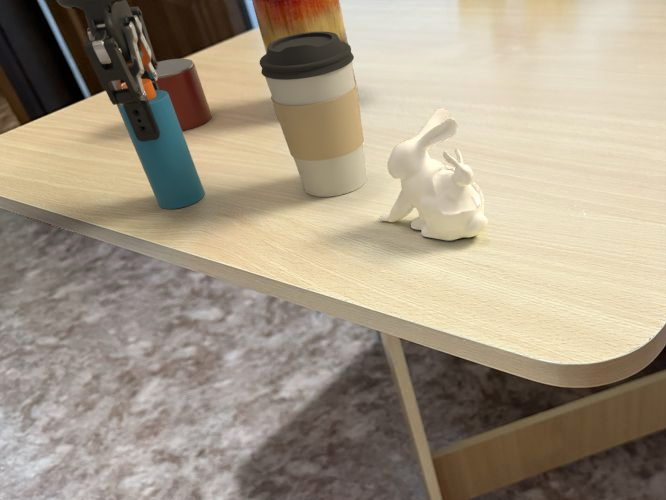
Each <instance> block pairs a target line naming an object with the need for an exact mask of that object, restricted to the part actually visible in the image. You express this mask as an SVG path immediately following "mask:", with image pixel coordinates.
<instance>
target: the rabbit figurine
mask: <svg viewBox="0 0 666 500" xmlns="http://www.w3.org/2000/svg"><path fill="white" fill-rule="evenodd" d="M449 115H450V114H449V111H448V110H447V108H444V107H439V108H437V109H435V110H434V111H433V112H432V113H431V115H430V116H429V118H428V119H427V120H426V122H425V123H424V124H423V126H422V127H421V128H420V129H419V131H418V133H417V134H416V135H415V136H413V137H412V138H410V139H407V140H403V141H401V142H399V143H397V145H395V146H394V148H393V149H392V150H391V153H390V155H389V157H388V160H387V164H386V165H387V172H388V173H389V175H390V176H391V177H392V178H393V179H397V180H400V183H401V189H400V192H399V194H398V196H397V197H396V199H395V202H394V204H393V205H392V207H391V209H390V212H389V213H383V214H382V215H379V217H378V218H377V220H378V221H379V222H389V223H395V222H397V221H400V220H403V219H404V218H406V217H407V216H409V214H411V213H412V212H413V210H414V208H415V209H416V210H417V212H418V217H416V218H415V217H414V219H412V221H411V223H410V228H412V229H413V230H418V231H421V235H422V236H423V237H424V238H425V237H426V238H432V239H437V240H442V241H455V240H458V239H459V240H460V239H462V238H472V237H473V238H474V237H477V236H478V235H480V234H483V232H485V230H486V229H487V227H488V223H489V222H488V221H489V220H488V217H487V216H485V215H484V213H485V195H484V193H483V191H482V190H481V188H480V187H479V185H478V184H477V183H476V182H475V181H474V172H473V170H472V168H471V167H470V166H469V165H467V164H466V163H464V160H463V156H462V153H461V151H460V149H459V148H455V149H454V154H455V157H456V158H454V157H453V156H452V155H451V154H449V153H448V152H447V151H446V150H443V152H442V158H443V159H444V160H445V162H447V163H448V164H450V165H446V164H443V163H441V161H439V160H437V159H433V158H431V157H430V156H431V155H430V154H429V152H428V150H429V149H431V148H432V147H434V146H436V145H438V144H442V143H444V142H446V141H447V140H449V139H451V138H452V137H454V136H455V135H456V134H457V131H458V130H459V124H458V122H457V121H456V119H455V118H453V117H450V118H449Z"/></svg>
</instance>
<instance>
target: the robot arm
mask: <svg viewBox="0 0 666 500" xmlns="http://www.w3.org/2000/svg"><path fill="white" fill-rule="evenodd" d="M56 2H57V4H58V5H60V6H61V7H62V8H65V9H70V10H74V9H80V10H81V11H83V13H84V14H85V19H86V22H87V26H88V28H87V29H86V32H87V36H88V39H89V40H87V41H83V42H82V44H83V50H84V52H85V54H86V55H87V58H88V59H89V61H90V63H91V65H92V67H93V69H94V72H95V73H96V75H97V77H98V79H99V81H100V83H101V85H102V87H103V89H104V90H105V92H106V95H107V96H108V99H109V101H110V103H111V104H112V105H113V106H115V105H116V106H117V104H119V105H123V107H124V109H125V111H126V114H127V116H128V119H129V121H130V123H131V126H132V128H133V131H134V133H135V135H136V138H137V139H138V140H139V141H141V142H144V141H150V140H156V139H158V138H159V136H160V130H159V128H158V125H157V122H156V120H155V117H154V115H153V112H152V110H151V107H150V105H149V102H148V99H147V94H146V92H145V90H144V86H143V83H142V80H141V79H150V80H151V81H152V84H153V87H154V89H155V90H159V87H158V85H157V82H154V81H157V73H156V72H155V70H156V69H158V66H157V65H158V63H157V62H158V61H157V59H156V56H155V52H154V50H153V46H152V43H151V40H150V37H149V33H148V31H147V27H146V24H145V21H144V18H143V13H142V10H141V9H140V7H139V6H130V5H129V4H128V1H127V0H56ZM121 81H123V82H124V84H125V83H126V85H127V87H128V88H125V89H123V88H122V86H123V85H122V83H121Z"/></svg>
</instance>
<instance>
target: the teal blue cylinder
mask: <svg viewBox="0 0 666 500" xmlns="http://www.w3.org/2000/svg"><path fill="white" fill-rule="evenodd" d="M141 80H142V83H143V86H144V90H145V92H146V94H147V99H148V102H149V105H150V107H151V110H152V112H153V115H154V117H155V120H156V122H157V125H158V128H159V130H160V136H159V138H158V139H156V140H150V141H144V142H141V141H139V140H138V139H137V138H136V135H135V133H134V131H133V128H132V126H131V123H130V121H129V119H128V116H127V114H126V111H125V109H124V107H123V105H119V104H117V105H116V107H117V109H118V111H119V114H120V116H121V119H122V121H123V123H124V126H125V128H126V131H127V133H128V135H129V137H130V140H131V143H132V145H133V147H134V149H135V152H136V154H137V155H136V156H137V157H138V160H139V162H140V164H141V166H142V169H143V171H144V173H145V176H146V178H147V180H148V183H149V185H150V188H151V190H152V193H153V195H154V198H155V199H156V201H157V204H158V206H159V207H160V208H161V209H165V210H176V209H182V208H186V207H189V206H192V205H194V204H196V203H197V202H199V201H201V200H202V199H203V198H204V196H205V194H206V193H205V189H204V187H203V185H202V182H201V178H200V176H199V174H198V170H197V168H196V165H195V162H194V160H193V156H192V154H191V152H190V149H189V146H188V143H187V141H186V138H185V135H184V131H182V130H181V127H180V124H179V122H178V119H177V116H176V113H175V111H174V108H173V105H172V103H171V100H170V97H169V94H168V93H167V92H166V91H163V90H155V89H154V87H153V84H152V81H151V80H150V79H141ZM125 88H128V87H127V85H126V83H125V82H124V84H123V85H122V89H125Z"/></svg>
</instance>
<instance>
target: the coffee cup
mask: <svg viewBox="0 0 666 500" xmlns="http://www.w3.org/2000/svg"><path fill="white" fill-rule="evenodd" d="M354 58H355V56H354V54H353V53H352V46H351V45H350V44H349V43H348V44H347V43H345V42H342V41H341V40H340V39H339V37H338V36H337V34H335V33H332V32H307V33H300V34H295V35H291V36H287V37H283V38H280V39H278V40H275V41H273V42H272V43H270V44H269V45H268V46H267V54H266V53H265V54H264V55H263V56H262V57H260V59H259V66H260V68H261V72H260V73H261V75H262V76H263V77H264V78H265V81H266V83H267V86H268V89H269V92H270V94H271V96H270V100H271V103H272V106H273V108H274V111H275V114H276V116H277V117H276V118H277V121H278V122H279V126H280V128H281V131H282V134H283V136H284V137H283V138H284V139H285V142H286V144H287V148H288V151H289V153H290V155H291V156H292V157H293V160H294V163H295V165H296V168H297V171H298V174H299V178H300V180H301V183H302V185H303V188H304V191H305V192H306V194H308V195H311V196H314V197H322V198H325V197H329V198H330V197H338V196H341V195H346V194H349V193H352V192H354V191H356V190H358V189H360V188H362V187H363V186H364V185H365V184H366V182H367V181H368V174H367V173H368V171H367V164H366V157H365V149H364V142H365V141H364V140H365V138H364V131H363V123H362V117H361V107H360V99H359V92H357V91H358V85H357V81H356V79H355V80H354V76H355V71H354V66H353V65H354V64H353V61H354ZM353 71H354V72H353Z"/></svg>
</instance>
